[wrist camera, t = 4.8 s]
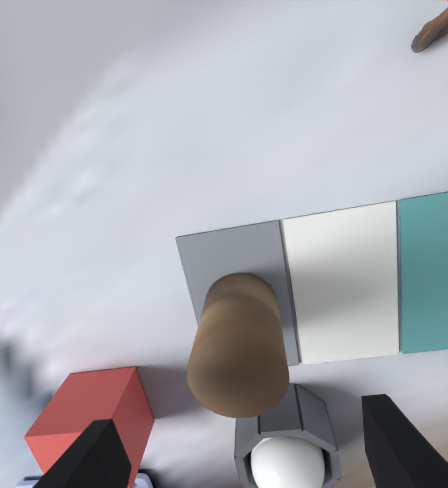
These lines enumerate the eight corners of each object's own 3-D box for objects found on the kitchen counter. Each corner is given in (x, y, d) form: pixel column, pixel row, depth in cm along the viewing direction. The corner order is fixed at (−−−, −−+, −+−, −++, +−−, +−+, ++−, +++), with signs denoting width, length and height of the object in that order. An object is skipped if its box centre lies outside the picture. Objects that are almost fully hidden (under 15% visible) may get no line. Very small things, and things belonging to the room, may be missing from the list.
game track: (210, 373, 18) (210, 374, 18) (175, 237, 15) (175, 237, 15) (505, 341, 16) (506, 342, 16) (523, 179, 13) (525, 179, 13)
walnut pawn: (212, 339, 17) (198, 421, 12) (198, 277, 16) (176, 341, 11) (281, 331, 16) (294, 414, 12) (272, 267, 15) (282, 330, 10)
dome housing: (246, 453, 20) (246, 504, 17) (231, 389, 18) (228, 435, 15) (330, 447, 19) (343, 499, 16) (322, 380, 17) (335, 426, 15)
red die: (92, 426, 20) (51, 503, 16) (69, 374, 18) (18, 444, 14) (154, 420, 19) (128, 499, 15) (135, 366, 18) (102, 437, 14)
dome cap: (256, 456, 19) (257, 529, 15) (245, 408, 17) (245, 476, 14) (319, 451, 18) (335, 526, 15) (313, 402, 17) (329, 471, 14)
